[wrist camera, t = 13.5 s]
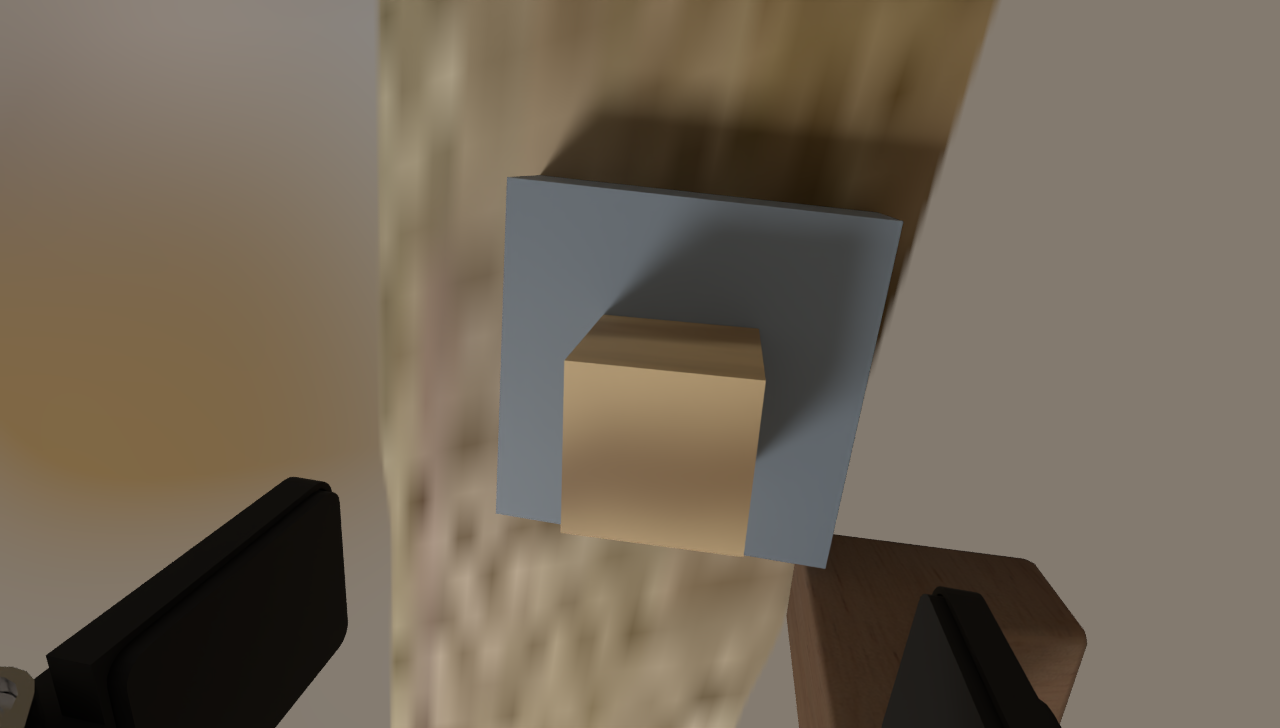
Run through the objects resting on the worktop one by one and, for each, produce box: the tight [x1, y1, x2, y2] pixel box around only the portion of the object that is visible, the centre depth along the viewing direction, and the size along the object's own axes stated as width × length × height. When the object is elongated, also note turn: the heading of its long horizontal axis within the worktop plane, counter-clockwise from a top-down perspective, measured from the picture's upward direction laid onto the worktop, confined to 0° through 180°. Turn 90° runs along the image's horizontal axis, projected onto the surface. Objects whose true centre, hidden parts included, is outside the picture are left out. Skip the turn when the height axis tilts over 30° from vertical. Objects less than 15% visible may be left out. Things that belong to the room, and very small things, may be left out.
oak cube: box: [561, 315, 766, 557], centre depth 19 cm, size 5×5×5 cm
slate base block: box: [496, 175, 903, 569], centre depth 23 cm, size 12×12×4 cm
